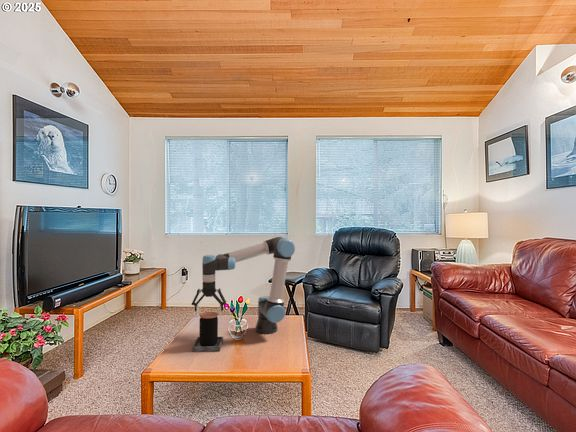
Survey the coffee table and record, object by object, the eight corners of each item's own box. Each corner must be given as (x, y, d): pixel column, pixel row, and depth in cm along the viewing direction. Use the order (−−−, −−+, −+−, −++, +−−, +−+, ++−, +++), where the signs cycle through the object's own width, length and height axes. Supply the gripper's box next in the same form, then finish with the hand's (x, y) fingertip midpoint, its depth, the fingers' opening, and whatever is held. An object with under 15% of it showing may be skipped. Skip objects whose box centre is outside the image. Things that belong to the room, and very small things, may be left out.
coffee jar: (219, 341, 207) (220, 312, 206) (214, 348, 196) (214, 317, 196) (202, 340, 208) (203, 311, 207) (196, 347, 197) (196, 316, 197)
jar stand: (223, 340, 210) (223, 336, 210) (219, 351, 195) (219, 346, 195) (197, 341, 209) (197, 336, 209) (192, 351, 194) (192, 347, 194)
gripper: (230, 279, 206) (230, 313, 206) (189, 280, 204) (189, 314, 205) (229, 282, 198) (229, 317, 199) (186, 282, 197) (186, 318, 197)
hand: (209, 316), depth 202 cm, fingers open, 13 cm apart
